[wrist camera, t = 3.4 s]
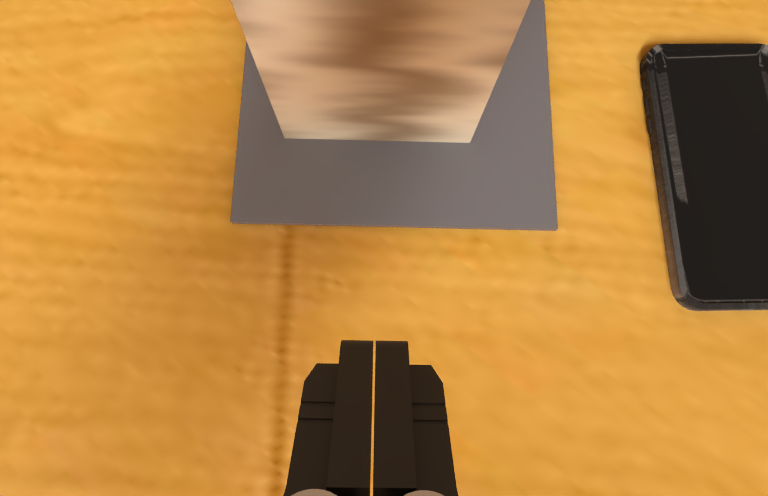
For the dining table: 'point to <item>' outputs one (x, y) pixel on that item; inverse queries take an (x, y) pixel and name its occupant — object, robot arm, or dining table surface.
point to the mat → (409, 161)
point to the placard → (379, 64)
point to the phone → (711, 170)
